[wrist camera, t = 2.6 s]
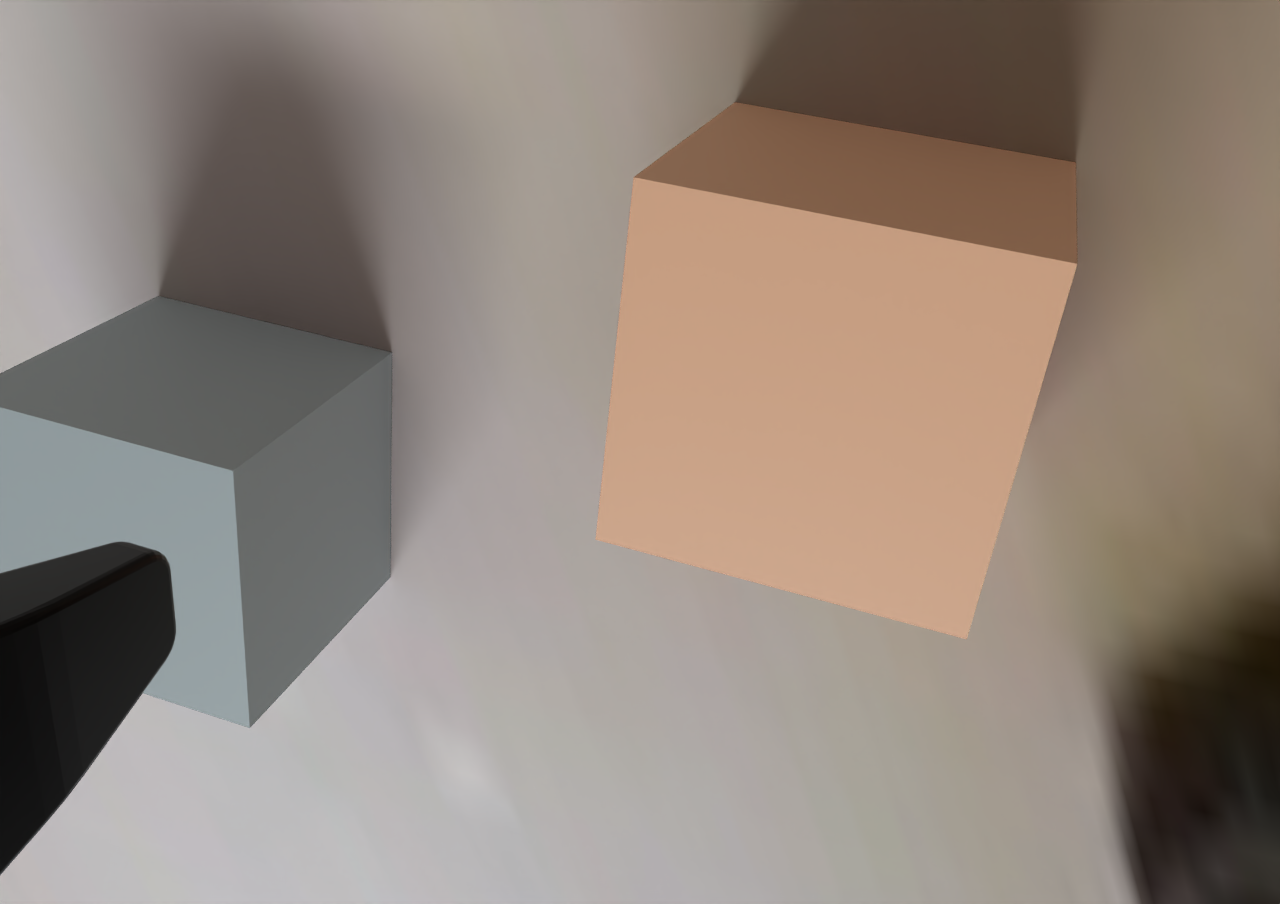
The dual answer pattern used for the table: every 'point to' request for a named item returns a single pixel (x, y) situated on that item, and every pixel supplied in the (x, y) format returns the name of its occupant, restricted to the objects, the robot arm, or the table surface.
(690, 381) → the terracotta cube
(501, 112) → the table surface
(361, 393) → the slate grey cube
